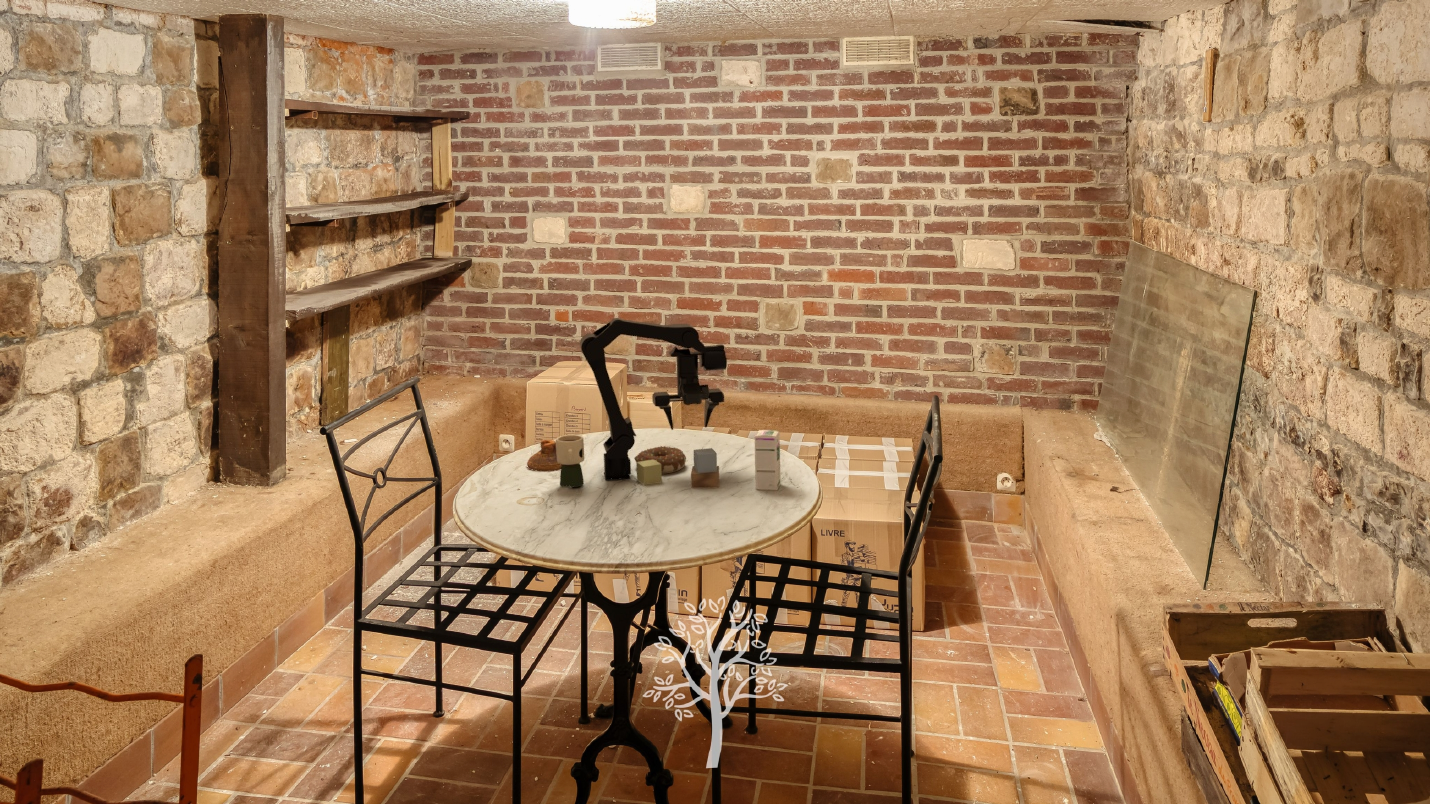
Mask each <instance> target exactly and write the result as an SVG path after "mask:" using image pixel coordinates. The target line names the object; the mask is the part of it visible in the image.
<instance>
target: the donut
mask: <svg viewBox="0 0 1430 804" xmlns="http://www.w3.org/2000/svg"><path fill="white" fill-rule="evenodd" d="M633 458H634V461H635V463H636V462H641V461H647V460H655V461H657V462H659V463H660V464H661V472H662V475H664V474H670V473H675V472H678V471H680V470H682V469H683V468H684V467H685V465H686V463H687V456H686V455H685V453H684V451H683V450H681V449H680V448H677V447H671V446H669V447H668V446H662V445H660V446H655V447H653V448H651V447H650V448H647V449H644V450H641V451H640V452H639V453H638V454H637V455H636V456H635V457H633Z"/></svg>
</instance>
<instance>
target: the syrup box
mask: <svg viewBox="0 0 1430 804" xmlns="http://www.w3.org/2000/svg"><path fill="white" fill-rule="evenodd" d="M780 435H781V434H780V430H776V429H775V430H774V429H773V430H772V429H763V430H762V429H760V430H758V431H757V432H756V433H755V435H754V465H755V466H754V467H755V470H754V472H755V473H754V474H755V475H754V476H755V477H754V478H755V490H758V491H759V490H761V491H778V489H779V487H780V485H781V448H780V447H781V446H780V445H781V443H780V442H781V441H780V439H781V437H780Z"/></svg>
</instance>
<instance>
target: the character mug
mask: <svg viewBox="0 0 1430 804" xmlns="http://www.w3.org/2000/svg"><path fill="white" fill-rule="evenodd" d="M584 441H585V440H584V436H582V435H579V434H565V435H561V436H557V437H556V439H555V442H556V454H557V462H558V463H560V464H562V466H561V469H560V474H559V477H560V478H559V479H560V480H559V486H561V487H570V488H576V487H581V486H583V485H584V484H585V482H584V476H583V474H584V473H583V469H582V465H581V463H583V462H584V461H585V446H584Z"/></svg>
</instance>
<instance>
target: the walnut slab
mask: <svg viewBox="0 0 1430 804" xmlns="http://www.w3.org/2000/svg"><path fill="white" fill-rule="evenodd" d="M690 471H691V472H690V482H691V483H690V485H691V488H692V489H693V488H698V489H699V488H701V489H703V488H705V489H706V488H711V489H712V488H716V489H717V488H719V484H720V465H717V472H709V473H697V471H696V470H695V469H694V465H693V466H692V468H691V470H690Z"/></svg>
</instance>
